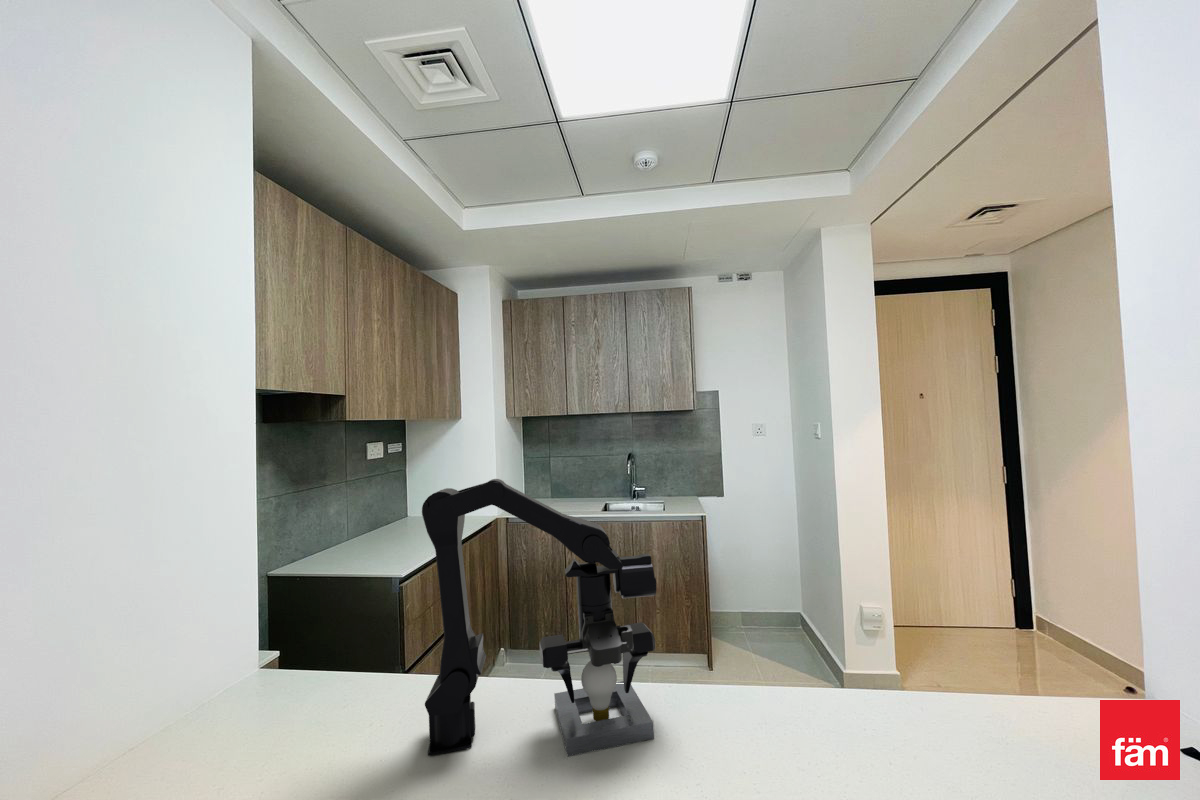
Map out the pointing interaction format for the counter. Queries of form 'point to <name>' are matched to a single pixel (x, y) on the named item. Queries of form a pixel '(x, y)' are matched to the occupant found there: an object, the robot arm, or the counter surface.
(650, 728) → the socket collar
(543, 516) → the robot arm
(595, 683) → the light bulb
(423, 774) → the counter surface
